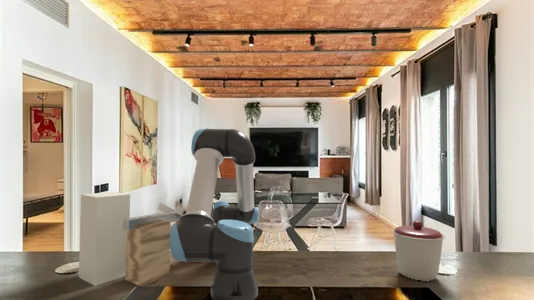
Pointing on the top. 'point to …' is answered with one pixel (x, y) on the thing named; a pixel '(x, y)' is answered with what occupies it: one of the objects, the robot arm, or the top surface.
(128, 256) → the light brown boxy piece
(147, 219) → the rail
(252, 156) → the robot arm
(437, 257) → the canister
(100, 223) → the unit
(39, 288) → the top surface
